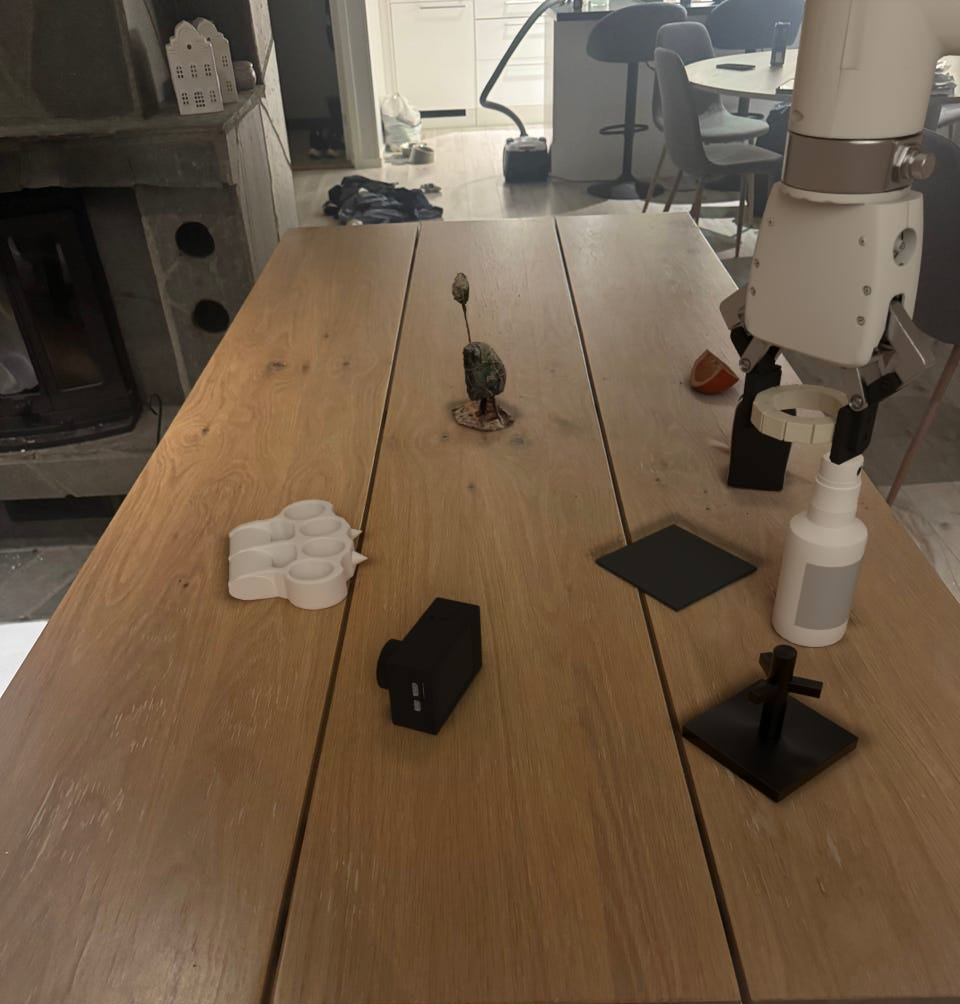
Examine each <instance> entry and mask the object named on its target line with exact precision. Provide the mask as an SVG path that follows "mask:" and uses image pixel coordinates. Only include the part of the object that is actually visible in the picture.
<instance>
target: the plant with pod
mask: <svg viewBox="0 0 960 1004" xmlns="http://www.w3.org/2000/svg"><path fill="white" fill-rule="evenodd" d="M453 281H454V282H453V283H452V284H451V295H452V297H453V300H454V301H456V302H457V303H459V304H460V305H461V308H462V311H463V318H464V321H465V327H466V331H467V337H468V343H467V344H466V345H465V346H464V347H463V349H462V352H461V353H462V355H463V357H462V358H463V359H462V361H463V363H462V364H463V370H464V383H465V386H466V389H465V390H466V393H467V395H468V399H469V401H467V402H465V403H464V405H461V406H458V408H457V407H455V408H453V409H452V410H451V412H452V413H453V414H454V418H455V420H454V421H457V422H456V423H457V424H458V425H464V426H468V427H469V428H474V429H476V430H478V431H481V432H482V431H483V432H496V430H498V431H500V430H502V429H506V428H509V427H510V426H512V424H514V422H515V419H514V417H512V415H511V413H510V411H509V410H504V408H503V407H501V406H500V404H498V403H497V400H496V396H500V395H501V394H502V393H504V391H505V387H506V383H507V369H506V367H505V363H503V360H502V359H501V358H500V356H499V355H498V354H497V352H496V351H495V349H494V348H493V347H492V346H491V345H490V344H488V343H485V342H482V341H472V339H471V332H470V326H469V321H468V318H467V304H468V301H469V300H470V299H469V298H470V288H471V287H470V284H469V280H468V277H467V276H466V274H464V272H457V274H456V276H455V277H454V279H453Z"/></svg>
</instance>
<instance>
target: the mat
mask: <svg viewBox="0 0 960 1004" xmlns="http://www.w3.org/2000/svg"><path fill="white" fill-rule="evenodd" d="M594 563H595V564H596V565H598V566H600V567H601V568H603V569H605V570H606V571H609V573H612V574H613V575H615V576H616V577H618V578H620V579H622V580H623V581H625V582H626V583H628V584H630V585H632V586H633V587H634V588H636V589H638V590H640V591H642V592H643V593H645V594H646V595H648V596H651V598H653V599H655V600H657V601H658V602H659V603H662V604H663V605H665V606H667V607H668V608H670V609H672V610H673V611H675V612H679V611H681V610H683V609H685V608H687V607H688V606H691V605H692V604H695V603H696V602H698V601H700V600H703V599H704V598H706V597H708V596H710V595H712V594H714V593H716V592H718V591H719V590H721V589H724V588H726V587H727V586H729V585H731V584H733V583H735V582H737V581H739V580H741V579H743V578H745V577H746V576H748V575H750V574H752V573H755V572H756V571H758V566H756V565H755V564H752V563H750V562H749V561H747V560H745V559H743V558H741V557H739V556H737V555H735V554H733V553H732V552H729V551H727V550H725V549H723V548H722V547H719V546H717V545H716V544H714V543H712V542H709V540H707V539H704V538H702V537H701V536H698V535H697V534H694V533H693V532H691V531H689V530H687V529H685V528H683V527H681V526H680V525H677V524H676V523H673V524H670V525H668V526H666V527H663V528H661V529H660V530H658V531H655V532H653V533H650V534H649V535H646V536H645V537H641V538H639V539H638V540H636V541H633V542H631V543H629V544H627V545H625V546H622V547H620V548H618V549H616V550H614V551H612V552H609V553H607V554H605V555H603V556H600V557H598V558H595V560H594Z"/></svg>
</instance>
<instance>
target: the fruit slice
mask: <svg viewBox="0 0 960 1004" xmlns="http://www.w3.org/2000/svg"><path fill="white" fill-rule="evenodd" d="M689 381H690V384H691V386H692V387H693V388H694V389H695V390H697V391H698V392H700V393H703V394H706V395H715V394H719V393H722V392H725V391H727V390H729V389H730V388H732V387H734V386H735V385H736V384H737V383H738V382H739V381H740V377H739V376H738V375H737V373H735V372H734V370H733V369H732V368H731V367H730V366H729V365H728V364H726V363H725V362H724V361H722V360H721V358H720V357H718V356H716V355H715V354H714V353H713V352H712V351H711V350H709V349H708V348H706V349H705V350H704V351H703V352H702V353H701V354H700V355H699V356H698V358H697V359H695V361H694V363H693V366H692V368H691V371H690V380H689Z"/></svg>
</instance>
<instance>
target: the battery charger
mask: <svg viewBox="0 0 960 1004" xmlns="http://www.w3.org/2000/svg"><path fill="white" fill-rule="evenodd" d="M742 399H743V393H742V394H740V396H739V398H738V400H737V403H736V405H735V409H734V412H733V413H734V414H733V419H732V425H731V426H732V427H731V434H730V435H731V436H730V446H729V447H730V448H729V449H730V450H729V459H728V460H729V462H728V470H727V476H726V485H727V486H728V487H732V488H733V487H734V488H739V489H748V490H757V491H758V490H759V491H777V492H778V491H779V492H781V491H782V490H783V489H784V488H785V483H786V482H785V481H786V475H787V469H788V463H789V461H790V457H791V451H792V447H793V443H794V442H788V441H784V439H783V440H779V439H776V438H773V437H771V436H768V435H766V434H763V433H762V431H761V432H760V431H759V430H758V429H757V428H756V427H753V428H750V429H745V428H743V427H741V426H740V422H741V414H742ZM780 411H781V412H784V413H786V414H789V415H792V416H798V408H795V409H784V410H780Z"/></svg>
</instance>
